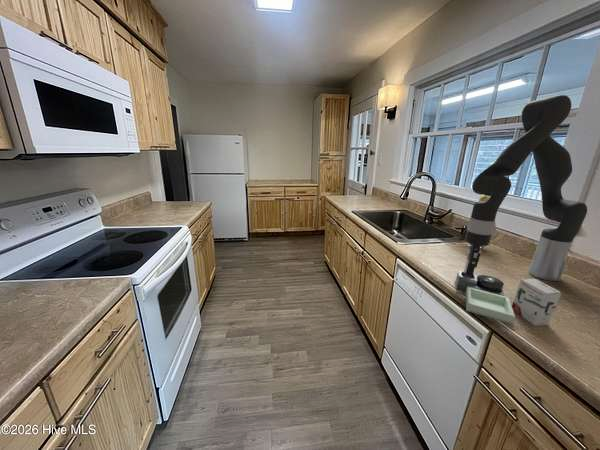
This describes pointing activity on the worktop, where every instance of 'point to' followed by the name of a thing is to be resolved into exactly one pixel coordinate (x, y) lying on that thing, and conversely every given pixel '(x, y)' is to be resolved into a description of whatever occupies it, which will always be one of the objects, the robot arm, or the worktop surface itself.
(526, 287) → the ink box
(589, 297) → the worktop surface
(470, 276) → the pin
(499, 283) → the tensioner block
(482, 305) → the tray
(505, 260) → the worktop surface
